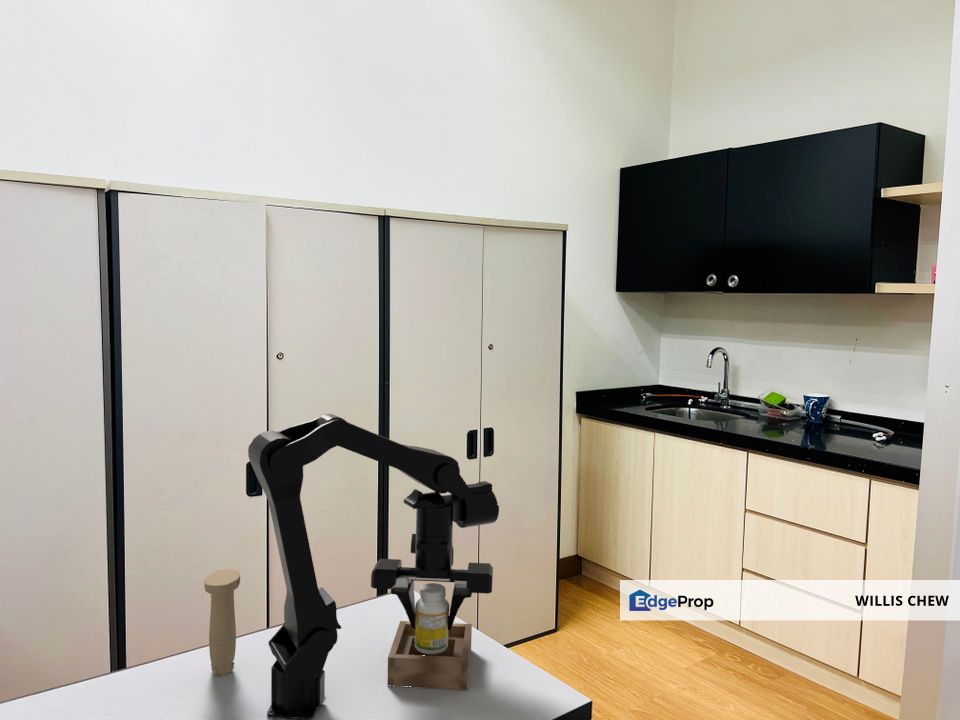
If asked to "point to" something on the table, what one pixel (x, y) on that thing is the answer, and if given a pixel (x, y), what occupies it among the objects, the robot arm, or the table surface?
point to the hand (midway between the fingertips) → (431, 628)
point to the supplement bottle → (431, 619)
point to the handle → (222, 619)
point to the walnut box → (430, 660)
